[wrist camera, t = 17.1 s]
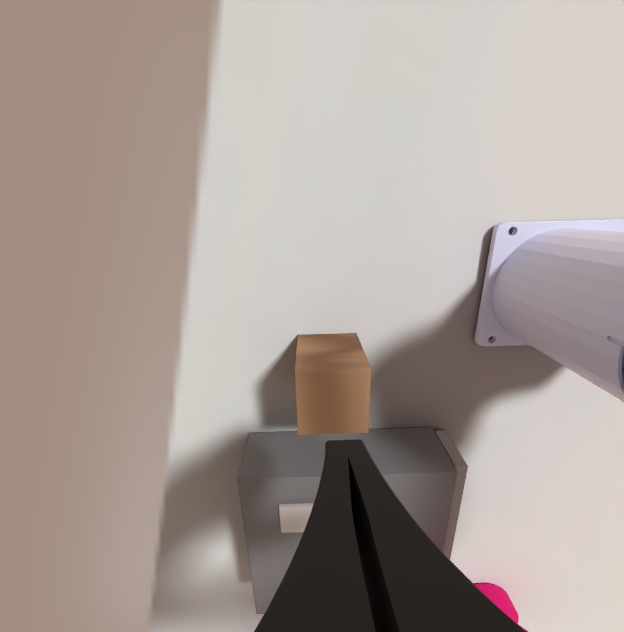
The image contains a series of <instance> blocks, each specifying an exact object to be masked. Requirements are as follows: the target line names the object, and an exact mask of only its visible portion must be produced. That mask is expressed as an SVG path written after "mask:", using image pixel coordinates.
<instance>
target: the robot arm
mask: <svg viewBox="0 0 624 632" xmlns="http://www.w3.org/2000/svg"><path fill="white" fill-rule="evenodd" d="M511 227H512V228H513V232H512V233H511V234H510V235H509V232H508V231H509V229H510V228H511ZM491 336H493V338H492V339H491V340H490V341H488V339H489V338H490V337H491ZM474 340H475V342H476V343H477V344H478V345H479V346H517V345H530V346H532V347H534V348H535V349H537V350H539V351H540V352H542V353H544V354H545V355H547V356H549V357H550V358H552V359H554V360H555V361H557V362H559V363H560V364H562V365H564V366H565V367H567V368H569V369H570V370H572V371H574V372H575V373H577V374H579V375H580V376H582V377H583V378H585V379H587V380H588V381H590V382H592V383H593V384H595V385H597V386H598V387H600V388H602V389H603V390H605V391H607V392H608V393H610V394H612V395H613V396H615V397H617V398H618V399H620V400H622V401H623V402H624V219H608V220H570V221H532V222H502V223H498V224H497V225H496V226H495V227H494V229H493V232H492V238H491V244H490V250H489V256H488V262H487V267H486V273H485V279H484V285H483V291H482V297H481V303H480V308H479V314H478V320H477V326H476V332H475V338H474ZM254 632H526V631H525V630H523V629H522V628H521V627H520V626H519V625H518V624H516V623H515V622H514V621H513V620H512V619H511V618H510V617H508V616H507V615H506V614H505V613H504V612H503V611H502V610H501V609H499V608H498V607H497V606H496V605H495V604H494V603H493V602H492V601H491V600H490V599H489V598H488V597H487V596H485V595H484V594H483V593H482V592H481V591H480V590H479V589H478V588H477V587H476V586H475V585H474V584H473V583H472V582H471V581H470V580H469V579H468V578H467V577H466V576H465V575H464V574H463V573H462V572H461V571H460V570H459V569H458V568H457V567H456V566H455V565H454V564H453V563H452V562H451V561H450V560H449V559H448V558H447V557H446V556H445V555H444V554H443V552H442V551H441V550H440V549H439V548H438V547H437V546H436V545H435V544H434V542H433V541H432V540H431V539H430V538H429V537H428V536H427V534H426V533H425V532H424V531H423V530H422V529H421V527H420V526H419V525H418V524H417V523H416V521H415V520H414V519H413V518H412V516H411V515H410V514H409V512H408V511H407V510H406V508H405V507H404V506H403V504H402V503H401V502H400V500H399V499H398V498H397V496H396V495H395V493H394V492H393V491H392V489H391V488H390V486H389V485H388V483H387V482H386V480H385V479H384V477H383V476H382V474H381V473H380V471H379V469H378V468H377V466H376V464H375V463H374V461H373V459H372V458H371V456H370V454H369V452H368V450H367V448H366V446H365V444H364V442H363V441H362V440H361V439H356V440H328V441H327V442H326V443H325V459H324V465H323V471H322V475H321V479H320V483H319V488H318V491H317V495H316V498H315V501H314V504H313V507H312V510H311V513H310V516H309V519H308V522H307V525H306V527H305V530H304V532H303V535H302V537H301V540H300V542H299V545H298V547H297V549H296V552H295V554H294V556H293V558H292V561H291V563H290V565H289V567H288V569H287V571H286V573H285V576H284V578H283V579H282V581H281V583H280V585H279V587H278V589H277V591H276V593H275V595H274V597H273V599H272V601H271V603H270V605H269V607H268V608H267V610H266V612H265V614H264V616H263V617H262V619H261V621H260V623H259V624H258V626H257V628H256V629H255V631H254Z"/></svg>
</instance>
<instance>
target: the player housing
mask: <svg viewBox="0 0 624 632" xmlns="http://www.w3.org/2000/svg"><path fill="white" fill-rule="evenodd" d="M356 439H361V440H362V441H363V442H364V444H365V446H366V448H367V450H368V452H369V454H370V456H371V458H372V459H373V461H374V463H375V464H376V466H377V468H378V469H379V471H380V473H381V474H382V476H383V477H384V479H385V480H386V482H387V483H388V485H389V486H390V488H391V489H392V491H393V492H394V493H395V495H396V496H397V498H398V499H399V500H400V502H401V503H402V504H403V506H404V507H405V508H406V510H407V511H408V512H409V514H410V515H411V516H412V518H413V519H414V520H415V521H416V523H417V524H418V525H419V526H420V527H421V529H422V530H423V531H424V532H425V533H426V534H427V536H428V537H429V538H430V539H431V540H432V541H433V542H434V544H435V545H436V546H437V547H438V548H439V549H440V550H441V551H442V552H443V550H444V545H445V539H446V534H447V528H448V523H449V517H450V511H451V506H452V500H453V495H454V489H455V483H456V478H457V470H456V468H455V467H454V465H453V463H452V461H451V460H450V458H449V456H448V455H447V453H446V451H445V449H444V448H443V446H442V444H441V442H440V441H439V439H438V437H437V435H436V434H435V432H434V430H433V429H432V427H414V428H382V429H369V432H368V433H342V434H310V435H298V431H285V432H253V433H249V437H248V441H247V445H246V449H245V453H244V456H243V460H242V464H241V468H240V472H239V476H238V485H239V492H240V499H241V506H242V513H243V521H244V528H245V535H246V542H247V549H248V556H249V563H250V570H251V577H252V584H253V592H254V599H255V606H256V613H257V614H265V612H266V610H267V608H268V607H269V605H270V603H271V601H272V599H273V597H274V595H275V593H276V591H277V589H278V587H279V585H280V583H281V581H282V579H283V578H284V576H285V573H286V571H287V569H288V567H289V565H290V563H291V561H292V558H293V556H294V554H295V552H296V549H297V547H298V545H299V542H300V540H301V537H302V535H303V532H304V530H305V527H306V525H307V522H308V519H309V516H310V513H311V510H312V507H313V504H314V501H315V498H316V495H317V491H318V488H319V483H320V479H321V475H322V471H323V465H324V459H325V443H326V442H327V441H328V440H356Z"/></svg>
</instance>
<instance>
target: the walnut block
mask: <svg viewBox="0 0 624 632" xmlns="http://www.w3.org/2000/svg"><path fill="white" fill-rule="evenodd" d="M295 388H296V408H297V428H298V435H310V434H342V433H368V432H369V411H370V390H371V368H370V366H369V363H368V361H367V358H366V356H365V353H364V351H363V348H362V346H361V343H360V341H359V338H358V336H357V333H349V334H314V335H298V336H297V349H296V363H295Z"/></svg>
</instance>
